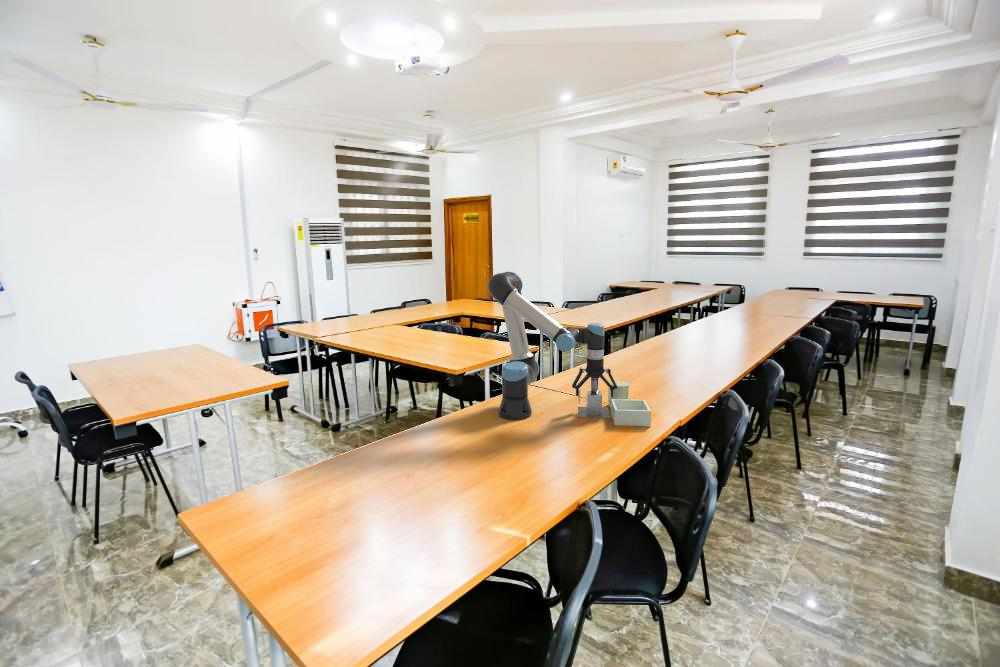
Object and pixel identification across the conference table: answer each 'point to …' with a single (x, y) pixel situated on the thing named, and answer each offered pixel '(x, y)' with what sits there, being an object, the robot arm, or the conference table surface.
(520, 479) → the conference table surface
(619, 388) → the can
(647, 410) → the bin
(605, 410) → the stud plate
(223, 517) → the conference table surface
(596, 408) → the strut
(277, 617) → the conference table surface
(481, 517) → the conference table surface
